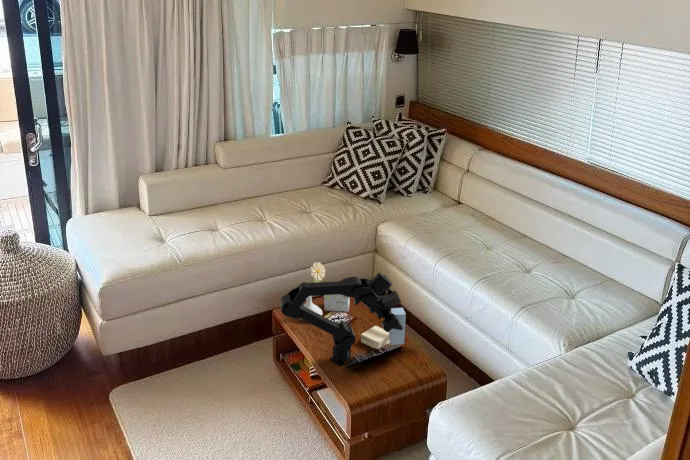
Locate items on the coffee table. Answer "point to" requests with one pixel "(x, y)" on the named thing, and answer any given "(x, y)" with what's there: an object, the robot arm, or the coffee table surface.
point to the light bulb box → (336, 303)
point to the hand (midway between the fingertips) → (400, 325)
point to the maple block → (375, 337)
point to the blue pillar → (395, 334)
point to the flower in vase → (317, 275)
